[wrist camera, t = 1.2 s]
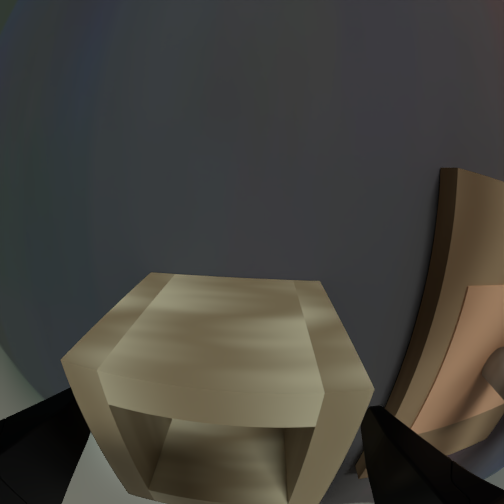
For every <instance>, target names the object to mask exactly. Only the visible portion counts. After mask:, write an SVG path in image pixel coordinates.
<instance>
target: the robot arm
mask: <svg viewBox="0 0 504 504" xmlns="http://www.w3.org/2000/svg"><path fill="white" fill-rule="evenodd" d="M90 431H91V430H90V428H89V426H88V424H87V422H86V420H85V418H84V416H83V414H82V412H81V410H80V407H79V405H78V403H77V401H76V398H75V396H74V394H73V391H72V389H71V387H70V388H68V389H66V390H64V391H62V392H60V393H58V394H56V395H54V396H52V397H50V398H48V399H46V400H44V401H41V402H39V403H38V404H35V405H33V406H31V407H29V408H27V409H24V410H22V411H20V412H18V413H16V414H14V415H12V416H9V417H7V418H6V419H2V420H0V504H61V503H62V501H63V499H64V496H65V493H66V491H67V488H68V486H69V483H70V481H71V478H72V476H73V473H74V471H75V469H76V466H77V464H78V461H79V459H80V457H81V455H82V452H83V450H84V448H85V445H86V443H87V440H88V438H89V435H90ZM361 434H362V441H363V449H364V457H365V464H366V469H367V474H368V478H369V482H370V486H371V490H372V494H373V498H374V503H375V504H504V490H503V489H501V488H499V487H497V486H495V485H493V484H490V483H489V482H487V481H485V480H483V479H481V478H479V477H478V476H476V475H474V474H472V473H471V472H469V471H468V470H466V469H464V468H463V467H462V466H460V465H459V464H457V463H456V462H454V461H452V460H451V459H450V458H449V457H447V456H446V455H445V454H443V453H442V452H441V451H439V450H438V449H437V448H435V447H434V446H433V445H431V444H430V443H429V442H427V441H426V440H425V439H423V438H422V437H421V436H419V435H418V434H417V433H415V432H414V431H413V430H412V429H410V428H409V427H408V426H406V425H405V424H404V423H402V422H401V421H400V420H399V419H397V418H396V417H395V416H394V415H392V414H391V413H390V412H388V411H387V410H386V409H385V408H383V407H382V406H379V405H378V406H370V407H369V408H368V409H367V411H366V413H365V415H364V418H363V420H362V423H361Z"/></svg>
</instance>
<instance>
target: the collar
mask: <svg viewBox="0 0 504 504" xmlns="http://www.w3.org/2000/svg"><path fill="white" fill-rule="evenodd" d="M61 362H62V365H63V368H64V371H65V373H66V376H67V379H68V381H69V384H70V386H71V389H72V391H73V394H74V396H75V398H76V401H77V403H78V405H79V407H80V410H81V412H82V414H83V416H84V418H85V420H86V422H87V424H88V426H89V428H90V430H91V432H92V434H93V436H94V438H95V440H96V442H97V444H98V446H99V447H100V449H101V451H102V453H103V454H104V456H105V458H106V459H107V461H108V463H109V464H110V466H111V468H112V469H113V471H114V473H115V474H116V476H117V477H118V479H119V480H120V482H121V483H122V485H123V486H124V488H125V489H126V491H127V492H128V493H129V494H132V495H135V496H138V497H142V498H146V499H150V500H154V501H158V502H162V503H167V504H319V502H320V501H321V499H322V498H323V496H324V494H325V493H326V491H327V489H328V488H329V486H330V484H331V482H332V481H333V479H334V477H335V475H336V473H337V471H338V470H339V468H340V466H341V464H342V462H343V460H344V458H345V456H346V454H347V452H348V450H349V448H350V446H351V444H352V442H353V440H354V437H355V435H356V433H357V431H358V429H359V426H360V424H361V422H362V419H363V417H364V415H365V412H366V410H367V407H368V405H369V402H370V400H371V397H372V394H373V392H374V387H373V385H372V383H371V381H370V379H369V377H368V375H367V373H366V371H365V368H364V366H363V364H362V362H361V360H360V358H359V356H358V354H357V352H356V350H355V348H354V346H353V344H352V342H351V340H350V338H349V336H348V334H347V332H346V330H345V328H344V326H343V324H342V322H341V321H340V319H339V317H338V315H337V313H336V311H335V309H334V307H333V305H332V303H331V301H330V300H329V298H328V296H327V294H326V292H325V290H324V288H323V286H322V285H321V283H320V281H301V280H275V279H253V278H232V277H214V276H197V275H181V274H166V273H152V272H151V273H150V274H149V275H148V276H146V277H145V278H144V279H143V280H142V281H141V282H140V283H139V284H138V285H137V286H136V287H134V288H133V289H132V290H131V291H130V292H129V293H128V294H127V295H126V296H125V297H124V298H123V299H122V300H121V301H120V302H118V303H117V304H116V305H115V306H114V307H113V308H112V309H111V310H110V311H109V312H108V313H107V314H106V315H105V316H104V317H103V318H102V319H101V320H100V321H99V322H98V323H97V324H96V325H95V326H94V327H93V328H92V329H91V330H90V331H89V332H88V333H87V334H86V335H85V336H84V337H83V338H82V339H81V340H80V341H79V342H78V343H77V344H76V345H75V346H74V347H73V348H72V349H71V350H70V351H69V352H68V353H67V354H66V355H65V356H64V357H63V358H62V359H61Z"/></svg>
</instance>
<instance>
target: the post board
mask: <svg viewBox="0 0 504 504" xmlns="http://www.w3.org/2000/svg"><path fill="white" fill-rule="evenodd" d="M385 409H386V410H387V411H388V412H390V413H391V414H392V415H394V416H395V417H396V418H397V419H399V420H400V421H401V422H402V423H404V424H405V425H406V426H408V427H409V428H410V429H412V430H413V431H414V432H415V433H417V434H418V435H419V436H421V437H422V438H423V439H425V440H426V441H427V442H429V443H430V444H431V445H433V446H434V447H435V448H437V449H438V450H439V451H441V452H442V453H443V454H445V455H446V456H447V455H449V454H452V453H454V452H457V451H459V450H462V449H464V448H467V447H469V446H471V445H474V444H476V443H478V442H480V441H482V440H484V439H486V438H487V437H488V436H489V434H490V433H491V431H492V430H493V429H494V427H495V426H496V424H497V423H498V421H499V420H500V418H501V417H502V415H503V414H504V182H502V181H499V180H496V179H493V178H490V177H487V176H484V175H481V174H477V173H474V172H470V171H467V170H463V169H460V168H441V172H440V189H439V202H438V212H437V221H436V229H435V236H434V243H433V249H432V255H431V260H430V266H429V271H428V276H427V280H426V285H425V289H424V294H423V298H422V302H421V306H420V310H419V313H418V317H417V321H416V324H415V328H414V331H413V334H412V337H411V341H410V344H409V347H408V350H407V353H406V356H405V359H404V361H403V364H402V367H401V370H400V372H399V375H398V378H397V380H396V383H395V385H394V388H393V390H392V393H391V395H390V397H389V400H388V402H387V404H386V407H385ZM355 467H356V471H357V474H358V478H359V479H362V478H367V477H368V474H367V469H366V464H365V457H364V451H363V453H362V455H361V457H360V458H359V460H358V462H357V464H356V465H355Z"/></svg>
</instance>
